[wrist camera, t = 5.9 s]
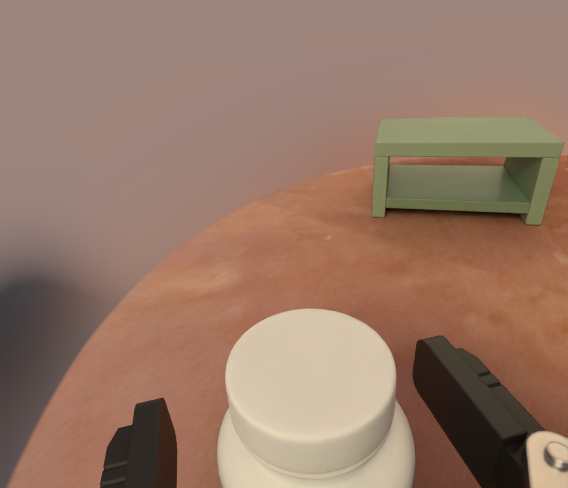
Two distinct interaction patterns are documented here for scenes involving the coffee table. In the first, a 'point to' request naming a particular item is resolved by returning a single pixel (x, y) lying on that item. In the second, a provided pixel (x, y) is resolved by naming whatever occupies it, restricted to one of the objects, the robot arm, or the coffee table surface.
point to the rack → (466, 179)
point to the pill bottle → (313, 407)
